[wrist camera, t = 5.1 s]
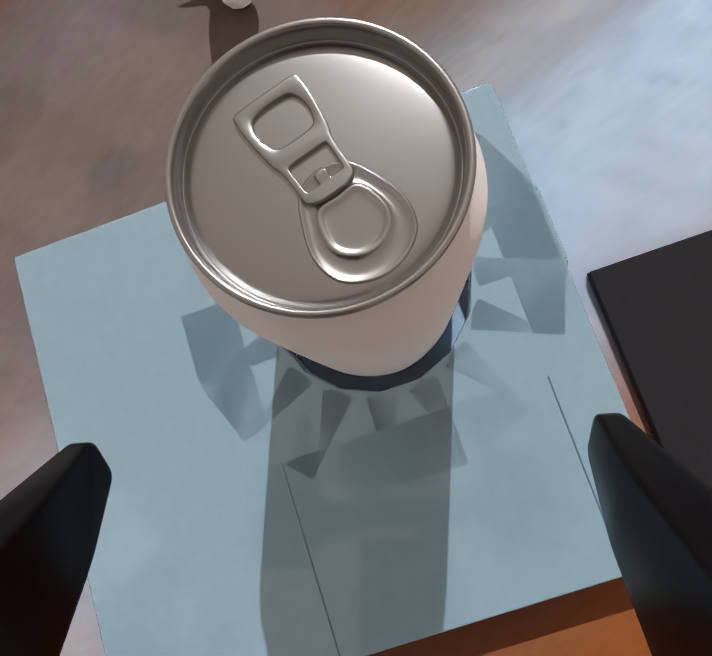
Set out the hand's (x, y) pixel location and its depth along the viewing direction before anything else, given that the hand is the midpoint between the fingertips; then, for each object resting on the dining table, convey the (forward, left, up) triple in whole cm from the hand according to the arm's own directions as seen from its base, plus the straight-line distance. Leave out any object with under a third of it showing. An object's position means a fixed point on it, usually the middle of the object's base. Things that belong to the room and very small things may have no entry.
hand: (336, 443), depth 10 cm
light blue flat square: (-2, +2, -11) cm, 11 cm away
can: (+1, +5, -11) cm, 12 cm away
